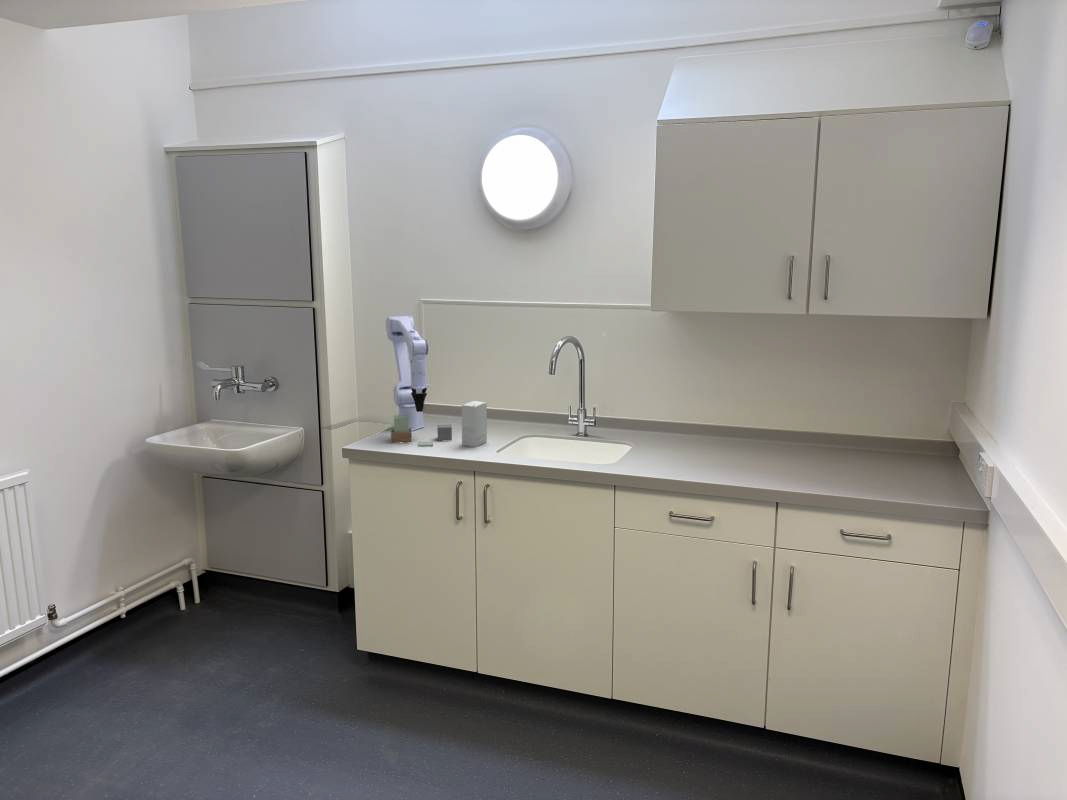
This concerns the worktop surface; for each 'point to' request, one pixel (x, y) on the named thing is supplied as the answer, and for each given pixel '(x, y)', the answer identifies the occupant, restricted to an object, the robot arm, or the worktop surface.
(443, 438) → the charcoal cube
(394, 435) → the walnut base
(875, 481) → the worktop surface
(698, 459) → the worktop surface
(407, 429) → the sage cube
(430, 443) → the card
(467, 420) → the skincare box
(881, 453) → the worktop surface
